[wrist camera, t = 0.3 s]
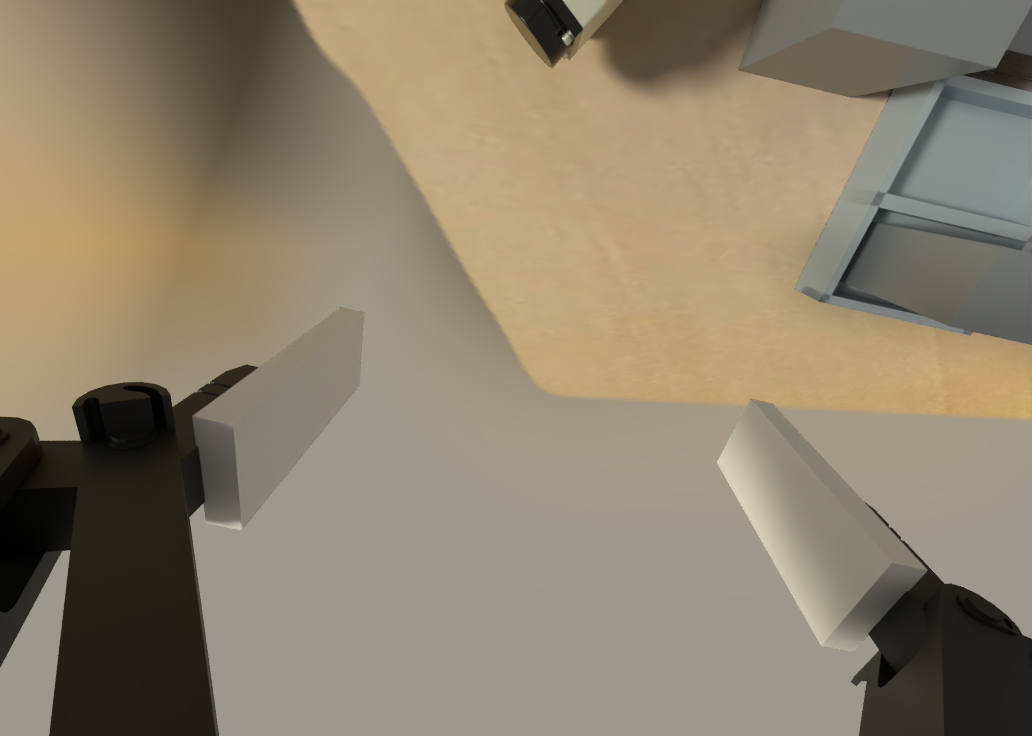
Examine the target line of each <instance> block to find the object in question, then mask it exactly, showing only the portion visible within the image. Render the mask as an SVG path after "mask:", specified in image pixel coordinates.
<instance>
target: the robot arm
mask: <svg viewBox="0 0 1032 736" xmlns="http://www.w3.org/2000/svg"><path fill="white" fill-rule="evenodd" d="M363 322H364V312H360V311H355V310H351V309H346V308H341V307H340V308H339V309H338V310H336V311H335V312H334V313H332V314H331V315H330V316H328V317H327V318H325V319H324V320H323V321H322V322H320V323H319V324H317V325H316V326H314V327H313V328H312V329H310V330H309V331H308V332H306V333H305V334H304V335H302V336H301V337H300V338H298V339H297V340H296V341H294V342H293V343H291V344H290V345H289V346H287V347H286V348H284V349H283V350H282V351H280V352H279V353H278V354H276V355H275V356H274V357H272V358H271V359H270V360H268V361H267V362H265V363H264V364H263V365H261V366H260V367H255V366H250V365H244V366H241V367H238V368H235V369H232V370H229V371H226V372H224V373H223V374H221V375H220V376H218V377H217V378H215V379H214V380H212V381H211V382H210V384H206V385H205V386H203V387H202V388H200V389H199V390H198V392H197V393H196V392H195V393H193V394H191V395H190V396H188V397H187V398H185V399H184V400H183V401H181V402H180V403H178V404H177V405H175V406H174V407H172V402H171V396H170V394H169V392H168V391H167V389H166V388H163V387H161V386H159V385H157V384H151V383H144V382H128V383H119V384H113V385H107V386H104V387H101V388H98V389H95V390H92V391H89V392H87V393H86V394H84V395H83V396H81V397H79V398H78V399H77V400H76V401H75V403H74V405H73V406H72V409H73V413H74V416H75V420H76V424H77V427H78V431H79V435H80V439H81V441H39V437H38V434H37V431H36V428H35V427H34V425H33V424H32V423H31V422H30V421H27V420H24V419H21V418H14V417H0V667H1V665H2V663H3V661H4V659H5V657H6V655H7V654H8V652H9V650H10V648H11V646H12V644H13V642H14V640H15V638H16V637H17V635H18V633H19V631H20V629H21V627H22V625H23V623H24V621H25V620H26V618H27V616H28V614H29V612H30V610H31V609H32V607H33V605H34V603H35V601H36V599H37V597H38V595H39V593H40V592H41V589H42V588H43V586H44V584H45V582H46V580H47V578H48V577H49V575H50V573H51V571H52V569H53V567H54V565H55V563H56V561H57V560H58V557H59V556H60V554H61V552H62V551H65V550H70V560H69V568H68V577H67V586H66V594H65V603H64V611H63V620H62V629H61V638H60V647H59V655H58V664H57V673H56V681H55V691H54V699H53V707H52V716H51V725H50V734H49V736H219V733H218V725H217V718H216V710H215V702H214V695H213V687H212V680H211V673H210V666H209V658H208V651H207V643H206V636H205V629H204V621H203V615H202V607H201V599H200V592H199V585H198V577H197V570H196V562H195V555H194V549H193V540H192V533H191V526H190V520H189V517H190V516H191V515H192V514H193V513H194V512H195V511H196V510H197V509H198V508H199V507H200V506H201V505H202V504H203V503H204V510H205V517H206V523H209V524H214V525H219V526H224V527H229V528H234V529H239V530H243V528H244V527H245V526H246V525H247V523H248V522H249V521H250V520H251V519H252V517H253V516H254V515H255V514H256V512H257V511H258V510H259V508H260V507H261V506H262V505H263V504H264V502H265V501H266V500H267V499H268V498H269V496H270V495H271V494H272V493H273V491H274V490H275V489H276V487H277V486H278V485H279V484H280V483H281V482H282V480H283V479H284V478H285V477H286V475H287V474H288V473H289V472H290V470H291V469H292V468H293V467H294V466H295V464H296V463H297V462H298V460H299V459H300V458H301V457H302V456H303V454H304V453H305V452H306V451H307V449H308V448H309V447H310V446H311V445H312V443H313V442H314V441H315V440H316V438H317V437H318V436H319V435H320V433H321V432H322V431H323V430H324V429H325V427H326V426H327V425H328V424H329V422H330V421H331V420H332V419H333V417H334V416H335V415H336V414H337V412H338V411H339V410H340V409H341V407H342V406H343V405H344V404H345V403H346V401H347V400H348V399H349V398H350V396H351V395H352V394H353V393H354V391H355V390H356V389H357V388H358V387H359V383H360V368H361V352H362V338H363ZM717 464H718V465H719V467H720V469H721V471H722V472H723V474H724V476H725V477H726V479H727V481H728V483H729V485H730V486H731V488H732V490H733V492H734V494H735V495H736V497H737V499H738V501H739V502H740V504H741V506H742V508H743V509H744V511H745V513H746V515H747V516H748V518H749V520H750V522H751V523H752V525H753V527H754V529H755V530H756V532H757V534H758V536H759V537H760V539H761V541H762V543H763V544H764V546H765V548H766V550H767V552H768V553H769V555H770V557H771V558H772V560H773V562H774V564H775V566H776V567H777V569H778V571H779V573H780V574H781V576H782V578H783V580H784V581H785V583H786V585H787V587H788V588H789V590H790V592H791V593H792V595H793V597H794V599H795V601H796V602H797V604H798V606H799V608H800V610H801V611H802V613H803V615H804V617H805V618H806V620H807V622H808V624H809V625H810V627H811V629H812V631H813V632H814V634H815V636H816V638H817V639H818V641H819V643H820V645H821V646H825V647H830V648H835V649H840V650H845V651H850V652H853V651H854V650H855V649H856V648H857V647H858V646H859V645H860V644H861V642H863V641H864V639H865V638H866V637H867V636H868V635H869V636H870V637H871V638H872V640H873V641H874V643H875V644H876V646H877V647H878V648H879V651H878V652H877V653H876V654H875V655H874V656H873V657H872V659H871V660H870V661H869V662H868V663H867V664H866V665H865V666H864V667H863V668H862V669H861V670H860V671H859V672H858V673H857V674H856V675H855V676H854V678H853V679H852V681H851V682H852V683H853V684H855V685H856V686H857V685H858V684H859V683H860V682H861V681H867V684H866V691H865V698H864V704H863V711H862V718H861V725H860V732H859V736H1032V639H1031V638H1028V637H1026V636H1024V635H1022V633H1021V631H1020V630H1019V628H1018V627H1017V626H1016V625H1015V623H1014V622H1013V621H1012V620H1011V619H1010V618H1009V617H1008V616H1007V615H1006V614H1005V613H1003V612H1002V611H1001V610H1000V609H998V608H997V607H996V606H995V605H993V604H992V603H990V602H989V601H987V600H986V599H984V598H983V597H981V596H980V595H978V594H976V593H974V592H972V591H970V590H968V589H966V588H964V587H961V586H957V585H953V584H944V583H943V582H942V581H941V580H940V579H939V577H938V576H937V575H936V574H935V573H934V572H933V571H932V570H931V569H930V568H929V567H928V566H927V565H926V564H925V563H924V562H923V560H922V559H921V558H920V557H919V556H918V555H917V554H916V553H915V552H914V551H913V550H912V549H911V548H910V547H909V546H908V544H907V543H905V542H904V541H902V540H901V537H900V536H899V535H898V534H897V533H896V532H895V531H894V530H893V529H892V528H890V527H889V524H888V523H887V522H886V521H885V520H884V519H883V518H882V517H881V516H880V515H879V514H878V513H877V512H876V511H875V510H874V509H873V508H872V507H871V506H869V505H868V504H867V503H865V502H864V501H863V500H862V499H861V498H860V497H859V496H858V495H857V494H856V493H855V492H854V491H853V489H852V488H851V487H850V486H849V485H848V484H847V483H846V482H845V481H844V480H843V479H842V478H841V477H840V476H839V474H838V473H837V472H836V471H835V470H834V469H833V468H832V467H831V466H830V465H829V464H828V463H827V462H826V460H825V459H824V458H823V457H822V456H821V455H820V454H819V453H818V452H817V451H816V450H815V449H814V448H813V446H812V445H811V444H810V443H809V442H808V441H807V440H806V439H805V438H804V437H803V436H802V435H801V434H800V433H799V431H798V430H797V429H796V428H795V427H794V426H793V425H792V424H791V423H790V422H789V421H788V420H787V419H786V418H785V417H784V416H783V414H782V413H781V412H780V411H779V410H778V409H777V408H776V407H775V406H774V405H773V404H772V403H768V402H764V401H759V400H755V399H750V401H749V403H748V404H747V406H746V408H745V410H744V412H743V414H742V416H741V418H740V420H739V422H738V424H737V426H736V427H735V429H734V431H733V433H732V435H731V437H730V439H729V441H728V443H727V444H726V447H725V448H724V450H723V452H722V454H721V456H720V458H719V460H718V462H717Z"/></svg>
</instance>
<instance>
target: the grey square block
mask: <svg viewBox="0 0 1032 736" xmlns="http://www.w3.org/2000/svg"><path fill="white" fill-rule="evenodd" d="M989 70H990V71H994V72H998V73H1002V74H1006V75H1010V76H1014V77H1018V78H1022V79H1026V80H1030V81H1032V6H1031V8H1030V10H1029V12H1028V13H1027V15H1026V17H1025V19H1024V20H1023V22H1022V24H1021V25H1020V27H1019V29H1018V31H1017V32H1016V34H1015V36H1014V38H1013V39H1012V41H1011V43H1010V45H1009V46H1008V48H1007V50H1006V52H1005V53H1004V55H1003V57H1002V59H1001V60H1000V62H999V64H998V65H997V67H996V68H994V69H989Z"/></svg>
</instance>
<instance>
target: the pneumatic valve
mask: <svg viewBox="0 0 1032 736" xmlns="http://www.w3.org/2000/svg"><path fill="white" fill-rule="evenodd" d="M622 1H623V0H506V2H505V4H504V5H505V9H506V11H507V13H508V15H509V16H510V18H511V20H512V21H513V23H514V24H515V26H516V27H517V29H518V30H519V32H520V33H521V34H522V36H523V37H524V39H525V40H526V41H527V43H528V44H529V45H530V46H531V48H532V49H533V50H534V51H535V53H536V54H537V55H538V56H539V57H540V58H541V59H542V60H543V61H544V63H546V64H547V65H548V66H549V67H551V68H553V67H554V66H555V65H556V64H557V63H558V61H559V60H560V59H561V58H563V59H566V58H568V60H570V59H571V58H572V57H573V56H574V55H575V54H576V52H577V51H578V50H579V49H580V48H581V47H582V46H583V45H584V44H585V42H586V41H587V40H588V39H589V38H590V37H591V36H592V35H593V34H594V32H595V31H596V30H597V29H598V28H599V27H600V26H601V25H602V24H603V23H604V21H605V20H606V19H607V18H608V17H609V16H610V15H611V14H612V13H613V11H614V10H615V9H616V8H617V7H618V6H619V5H620V4H621V3H622Z"/></svg>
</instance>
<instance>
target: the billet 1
mask: <svg viewBox="0 0 1032 736" xmlns="http://www.w3.org/2000/svg"><path fill="white" fill-rule="evenodd" d="M1031 6H1032V0H763V2H762V4H761V7H760V10H759V13H758V16H757V18H756V21H755V24H754V27H753V30H752V32H751V35H750V38H749V41H748V43H747V46H746V49H745V52H744V55H743V57H742V60H741V63H740V66H739V69H738V70H739V71H743V72H748V73H752V74H756V75H760V76H764V77H768V78H772V79H776V80H781V81H785V82H789V83H793V84H797V85H801V86H805V87H810V88H814V89H818V90H822V91H826V92H830V93H834V94H839V95H843V96H847V97H855V96H860V95H865V94H870V93H875V92H879V91H884V90H889V89H894V88H899V87H904V86H909V85H914V84H919V83H924V82H929V81H934V80H939V79H944V78H949V77H954V76H959V75H964V74H969V73H974V72H979V71H984V70H989V69H994V68H996V67H997V65H998V64H999V62H1000V60H1001V59H1002V57H1003V55H1004V53H1005V52H1006V50H1007V48H1008V46H1009V45H1010V43H1011V41H1012V39H1013V38H1014V36H1015V34H1016V32H1017V31H1018V29H1019V27H1020V25H1021V24H1022V22H1023V20H1024V19H1025V17H1026V15H1027V13H1028V12H1029V10H1030V8H1031Z"/></svg>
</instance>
